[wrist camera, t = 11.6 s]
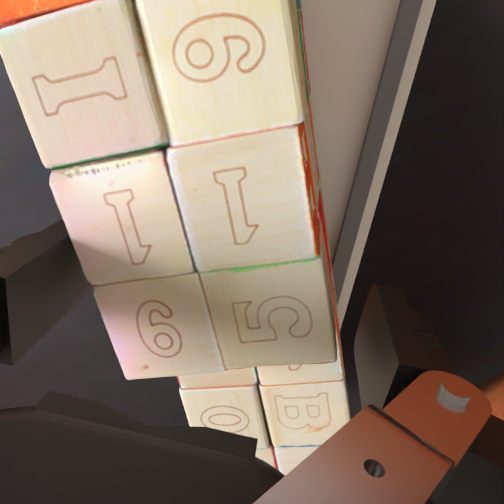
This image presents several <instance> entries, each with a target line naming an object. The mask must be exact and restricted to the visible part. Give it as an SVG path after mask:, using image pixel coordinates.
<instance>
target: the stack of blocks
mask: <svg viewBox="0 0 504 504" xmlns="http://www.w3.org/2000/svg"><path fill="white" fill-rule="evenodd" d="M0 54H1V56H2V59H3V61H4V64H5V67H6V70H7V73H8V76H9V79H10V81H11V84H12V86H13V88H14V91H15V93H16V96H17V98H18V101H19V104H20V106H21V109H22V112H23V115H24V117H25V120H26V123H27V126H28V128H29V131H30V133H31V136H32V138H33V141H34V143H35V146H36V148H37V151H38V153H39V156H40V158H41V161H42V163H43V164H44V166H45V167H46V168H47V169H50V170H51V172H52V173H51V175H50V182H49V185H50V188H51V190H52V192H53V195H54V198H55V201H56V204H57V206H58V209H59V211H60V213H61V216H62V218H63V221H64V223H65V226H66V229H67V232H68V235H69V237H70V239H71V241H72V244H73V247H74V249H75V252H76V254H77V257H78V260H79V262H80V265H81V268H82V270H83V273H84V276H85V277H86V279H87V281H88V282H89V283H91V284H92V285H93V294H94V298H95V300H96V303H97V305H98V308H99V311H100V313H101V316H102V318H103V321H104V324H105V326H106V329H107V331H108V334H109V337H110V339H111V342H112V345H113V347H114V350H115V352H116V355H117V357H118V360H119V362H120V365H121V367H122V370H123V373H124V376H125V377H126V379H127V380H131V379H142V378H155V377H168V376H177V379H178V382H179V385H180V389H179V391H180V395H181V399H182V402H183V405H184V409H185V412H186V415H187V418H188V422H189V425H190V427H208V428H213V429H217V430H222V431H226V432H230V433H235V434H239V435H243V436H248V437H252V438H257V439H258V441H257V448H256V455H255V457H257V458H259V459H261V460H263V461H265V462H267V463H268V464H270V465H271V466H273V467H275V468H276V469H277V470H279V471H280V472H281V473H283V474H284V475H285V476H286V475H287V474H288V473H289V472H290V471H291V470H293V469H294V468H295V467H296V466H297V465H298V464H300V463H301V462H302V461H303V460H304V459H305V458H307V457H308V456H309V455H310V454H311V453H312V452H314V451H315V450H316V449H317V448H318V447H320V446H321V445H322V444H323V443H324V442H325V441H327V440H328V439H329V438H330V437H331V436H332V435H334V434H335V433H336V432H337V431H338V430H339V429H341V428H342V427H343V426H344V425H345V424H346V423H348V422H349V421H350V420H351V419H350V411H349V403H348V395H347V387H346V379H345V372H344V364H343V356H342V347H341V339H340V329H339V321H338V312H337V300H336V291H335V283H334V276H333V268H332V261H331V253H330V246H329V238H328V230H327V221H326V218H325V212H324V204H323V196H322V188H321V180H320V172H319V166H318V159H317V152H316V143H315V135H314V127H313V118H312V110H311V102H310V92H311V90H310V81H309V71H308V63H307V54H306V45H305V36H304V28H303V12H302V3H301V0H0Z"/></svg>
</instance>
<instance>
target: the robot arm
mask: <svg viewBox="0 0 504 504" xmlns="http://www.w3.org/2000/svg"><path fill="white" fill-rule="evenodd" d="M90 284H91V283H89V282H88V281H87V279H86V277H85V276H84V273H83V270H82V268H81V265H80V262H79V260H78V257H77V254H76V252H75V249H74V247H73V244H72V241H71V239H70V237H69V235H68V232H67V229H66V226H65V223H64V221H63V219H62V220H60V221H58V222H56V223H54V224H53V225H51V226H49V227H48V228H46V229H44V230H42V231H41V232H37V233H34V234H30V235H26V236H23V237H21V238H19V239H17V240H15V241H14V242H12V243H10V244H9V246H5V247H3V248H1V249H0V363H3V364H7V365H12V366H13V365H14V364H15V363H16V362H17V361H18V360H19V359H20V358H21V357H22V356H23V355H24V354H25V353H26V352H27V351H28V350H29V349H30V348H31V347H32V346H33V345H34V344H35V343H36V342H37V341H38V340H39V339H40V338H41V337H43V336H44V335H45V334H46V333H47V332H48V331H49V330H50V329H51V328H52V327H53V326H54V325H55V324H56V323H57V322H58V321H59V320H60V319H61V318H62V317H63V316H64V315H65V314H66V313H67V312H68V311H69V310H70V309H71V308H72V307H73V306H74V305H75V304H76V303H77V302H78V301H79V300H80V299H81V298H82V297H83V296H84V295H85V294H86V293H87V291H88V289H89V287H90ZM436 335H437V334H436V332H435V330H434V328H433V326H432V324H431V322H430V321H429V320H428V319H427V318H426V317H425V316H424V315H423V314H422V313H421V312H420V311H419V310H415V309H410V308H409V305H408V303H407V300H406V298H405V295H404V293H403V291H402V289H400V288H395V287H390V286H385V285H380V284H375V283H374V284H373V285H372V286H371V288H370V291H369V294H368V297H367V300H366V303H365V306H364V309H363V313H362V316H361V319H360V322H359V325H358V329H357V332H356V336H355V342H354V357H355V364H356V371H357V377H358V384H359V391H360V398H361V405H362V411H360V412H359V413H358V414H357V415H356V416H355V417H353V418H352V419H351V420H350V421H349V422H348V423H346V424H345V425H344V426H343V427H342V428H341V429H339V430H338V431H337V432H336V433H335V434H334V435H332V436H331V437H330V438H329V439H328V440H327V441H325V442H324V443H323V444H322V445H321V446H320V447H318V448H317V449H316V450H315V451H314V452H312V453H311V454H310V455H309V456H308V457H307V458H305V459H304V460H303V461H302V462H301V463H300V464H298V465H297V466H296V467H295V468H294V469H293V470H291V471H290V472H289V473H288V474H287V475H286V476H285V475H284V474H283V473H281V472H280V471H279V470H277V469H276V468H275V467H273V466H271V465H270V464H268V463H267V462H265V461H263V460H261V459H259V458H257V457H255V455H256V448H257V441H258V439H257V438H252V437H248V436H243V435H239V434H235V433H230V432H226V431H222V430H217V429H213V428H208V427H190V426H149V425H144V424H142V423H140V422H138V421H136V420H134V419H132V418H130V417H128V416H125V415H123V414H121V413H119V412H117V411H115V410H113V409H111V408H109V407H107V406H105V405H103V404H101V403H99V402H95V401H90V400H86V399H82V398H77V397H73V396H69V395H64V394H60V393H55V392H51V391H48V392H47V393H46V394H45V396H44V397H43V398H42V399H41V400H40V402H39V403H38V404H37V405H36V406H29V407H16V408H9V409H3V410H0V504H504V420H501V419H499V418H497V417H495V416H493V415H492V414H491V413H492V408H491V404H490V402H489V400H488V399H487V398H486V396H485V395H484V394H483V393H482V392H481V391H480V390H479V389H478V388H477V387H475V386H474V385H473V384H471V383H470V382H468V381H466V380H465V379H463V378H461V377H459V376H456V375H455V373H454V371H453V368H452V366H451V364H450V362H449V360H448V358H447V356H446V353H445V351H444V349H443V347H441V343H440V341H439V338H438V337H436Z"/></svg>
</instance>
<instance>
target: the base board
mask: <svg viewBox="0 0 504 504" xmlns="http://www.w3.org/2000/svg"><path fill="white" fill-rule="evenodd" d="M301 3H302V12H303V28H304V36H305V45H306V54H307V63H308V71H309V81H310V90H311V92H310V102H311V110H312V118H313V127H314V135H315V143H316V152H317V159H318V166H319V172H320V180H321V188H322V196H323V204H324V212H325V218H326V221H327V230H328V238H329V246H330V253H331V261H332V268H333V276H334V283H335V291H336V300H337V312H338V321H339V329H341V326H342V322H343V319H344V315H345V312H346V309H347V305H348V302H349V298H350V295H351V291H352V288H353V285H354V281H355V278H356V274H357V271H358V267H359V264H360V261H361V257H362V254H363V250H364V247H365V243H366V240H367V237H368V233H369V230H370V226H371V223H372V219H373V216H374V213H375V209H376V206H377V202H378V199H379V195H380V192H381V189H382V185H383V182H384V178H385V175H386V171H387V168H388V165H389V161H390V158H391V154H392V151H393V147H394V144H395V141H396V137H397V134H398V130H399V127H400V123H401V120H402V117H403V113H404V110H405V106H406V103H407V99H408V96H409V93H410V89H411V86H412V82H413V79H414V75H415V72H416V69H417V65H418V62H419V58H420V55H421V51H422V48H423V45H424V41H425V38H426V34H427V31H428V27H429V24H430V21H431V17H432V14H433V10H434V7H435V3H436V0H301Z"/></svg>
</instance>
